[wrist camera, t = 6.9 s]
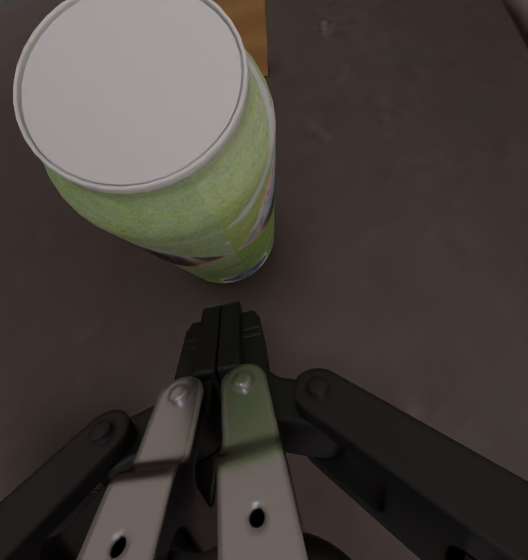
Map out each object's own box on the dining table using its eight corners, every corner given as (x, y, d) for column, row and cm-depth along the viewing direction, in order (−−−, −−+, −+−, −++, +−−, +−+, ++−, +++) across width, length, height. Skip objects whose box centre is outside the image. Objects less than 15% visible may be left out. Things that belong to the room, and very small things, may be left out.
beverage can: (256, 189, 18) (211, -110, 6) (297, 286, 16) (340, 102, 4) (168, 220, 18) (-41, -33, 6) (198, 323, 16) (-32, 231, 4)
